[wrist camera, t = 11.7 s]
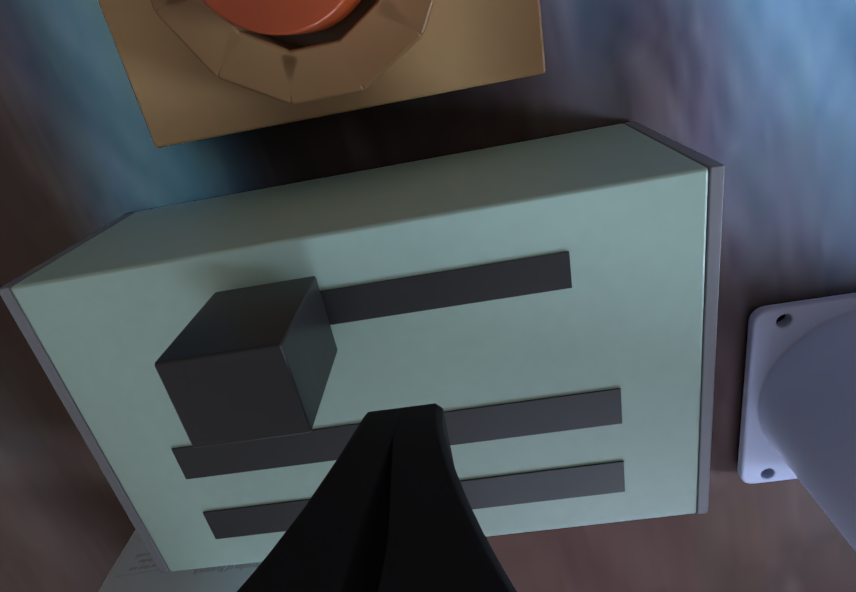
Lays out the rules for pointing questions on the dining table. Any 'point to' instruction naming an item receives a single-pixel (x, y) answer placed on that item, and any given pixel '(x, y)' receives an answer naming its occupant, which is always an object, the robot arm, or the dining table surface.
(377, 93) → the push button base
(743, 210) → the dining table surface
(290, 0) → the red stop button
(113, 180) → the dining table surface
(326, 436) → the toaster
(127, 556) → the white packaging box
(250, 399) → the slider
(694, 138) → the dining table surface
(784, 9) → the dining table surface
